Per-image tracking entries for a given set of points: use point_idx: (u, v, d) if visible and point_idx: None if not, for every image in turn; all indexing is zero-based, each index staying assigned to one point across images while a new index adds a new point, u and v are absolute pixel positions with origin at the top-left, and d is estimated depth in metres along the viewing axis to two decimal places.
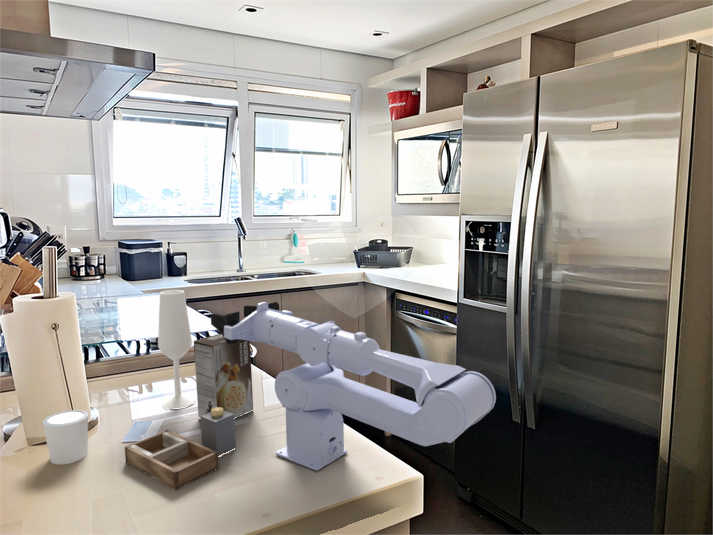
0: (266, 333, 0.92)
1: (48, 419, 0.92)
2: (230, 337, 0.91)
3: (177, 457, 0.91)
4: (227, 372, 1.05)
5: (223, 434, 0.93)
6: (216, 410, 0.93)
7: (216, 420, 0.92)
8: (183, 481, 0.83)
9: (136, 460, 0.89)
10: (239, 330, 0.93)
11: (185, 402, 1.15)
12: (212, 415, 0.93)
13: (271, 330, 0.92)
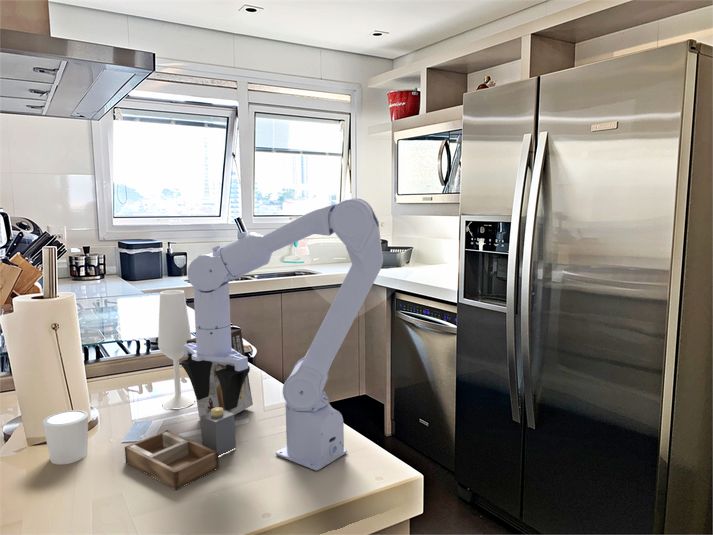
0: (224, 331, 0.90)
1: (48, 419, 0.92)
2: (245, 359, 0.89)
3: (177, 457, 0.91)
4: (224, 366, 1.06)
5: (223, 434, 0.93)
6: (216, 410, 0.93)
7: (216, 420, 0.92)
8: (183, 481, 0.83)
9: (136, 460, 0.89)
10: (234, 358, 0.89)
11: (185, 402, 1.15)
12: (212, 415, 0.93)
13: (203, 327, 0.89)
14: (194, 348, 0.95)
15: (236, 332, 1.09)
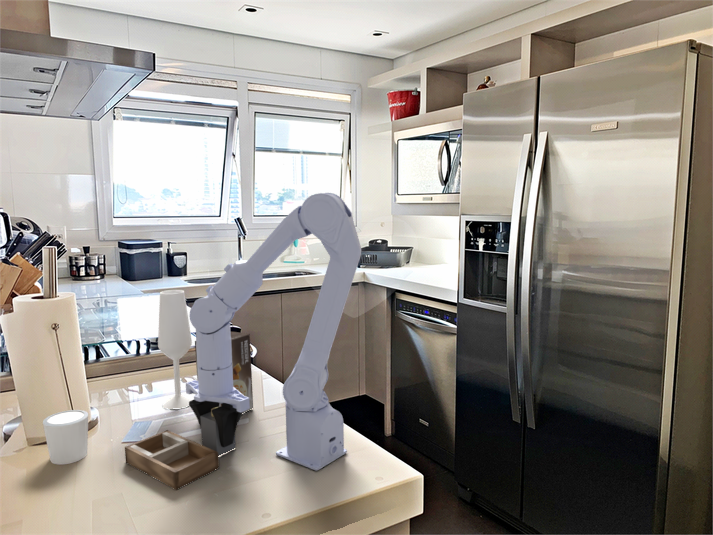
0: (226, 371, 0.91)
1: (48, 419, 0.92)
2: (247, 399, 0.89)
3: (177, 457, 0.91)
4: None
5: None
6: None
7: None
8: (183, 481, 0.83)
9: (136, 460, 0.89)
10: (236, 398, 0.90)
11: (185, 402, 1.15)
12: (212, 415, 0.93)
13: (205, 368, 0.90)
14: (196, 386, 0.96)
15: (245, 337, 1.09)
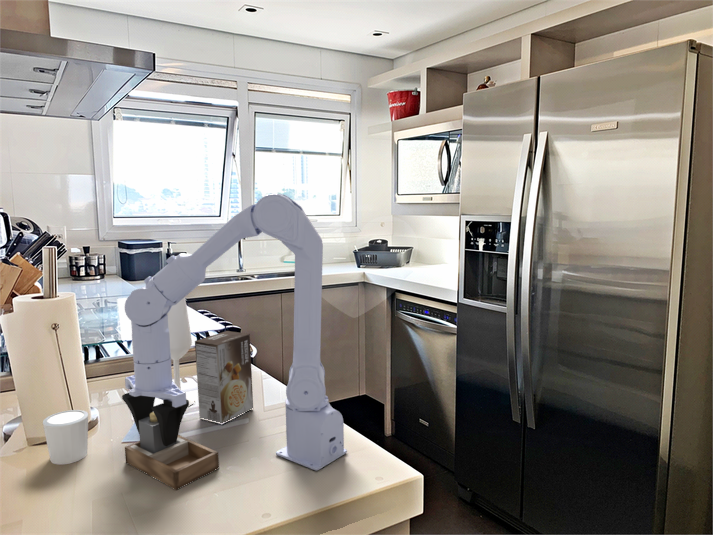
0: (163, 365, 0.88)
1: (48, 419, 0.92)
2: (183, 394, 0.86)
3: (177, 457, 0.91)
4: (230, 371, 1.06)
5: None
6: None
7: (154, 424, 0.89)
8: (183, 481, 0.83)
9: (136, 460, 0.89)
10: (172, 393, 0.87)
11: None
12: (150, 419, 0.90)
13: (142, 361, 0.87)
14: (135, 381, 0.92)
15: (245, 337, 1.09)
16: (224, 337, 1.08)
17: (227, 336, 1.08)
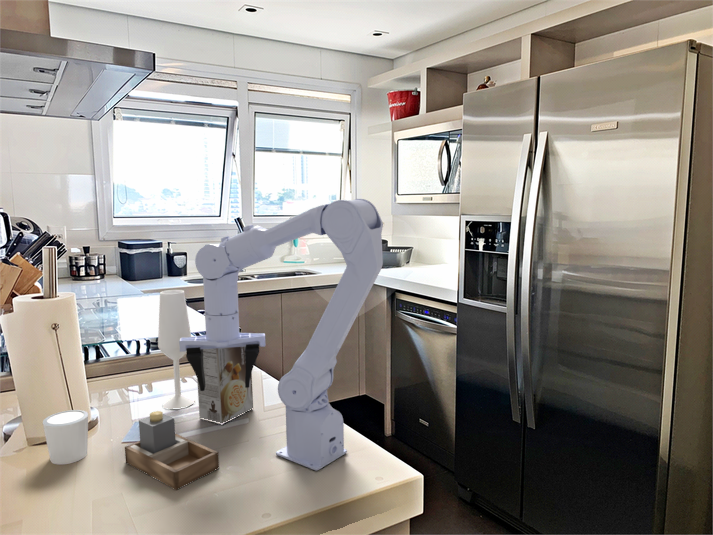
0: (238, 314, 0.96)
1: (48, 419, 0.92)
2: (264, 334, 0.98)
3: (177, 457, 0.91)
4: (230, 371, 1.06)
5: (162, 439, 0.90)
6: (155, 414, 0.91)
7: (154, 424, 0.89)
8: (183, 481, 0.83)
9: (136, 460, 0.89)
10: (253, 336, 0.97)
11: (185, 402, 1.15)
12: (150, 419, 0.90)
13: (209, 313, 0.93)
14: (196, 340, 0.95)
15: None
16: None
17: None
